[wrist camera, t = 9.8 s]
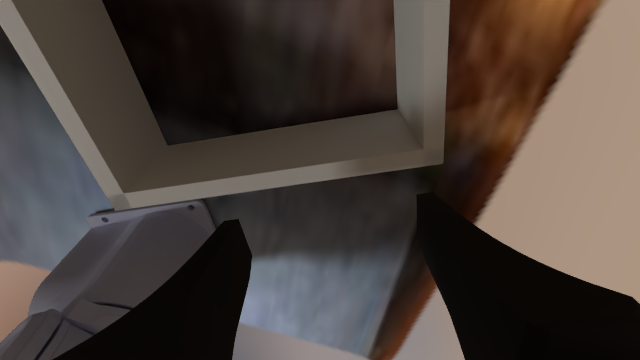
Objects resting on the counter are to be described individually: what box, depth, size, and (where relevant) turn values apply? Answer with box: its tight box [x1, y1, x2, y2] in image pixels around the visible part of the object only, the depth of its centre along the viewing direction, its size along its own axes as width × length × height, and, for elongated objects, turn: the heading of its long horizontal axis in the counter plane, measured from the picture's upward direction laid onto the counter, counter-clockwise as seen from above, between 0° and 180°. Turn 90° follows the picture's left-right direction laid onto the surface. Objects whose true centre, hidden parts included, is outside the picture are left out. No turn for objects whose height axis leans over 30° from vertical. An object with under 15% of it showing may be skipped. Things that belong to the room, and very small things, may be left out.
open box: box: [0, 0, 450, 211], centre depth 16 cm, size 18×13×6 cm
